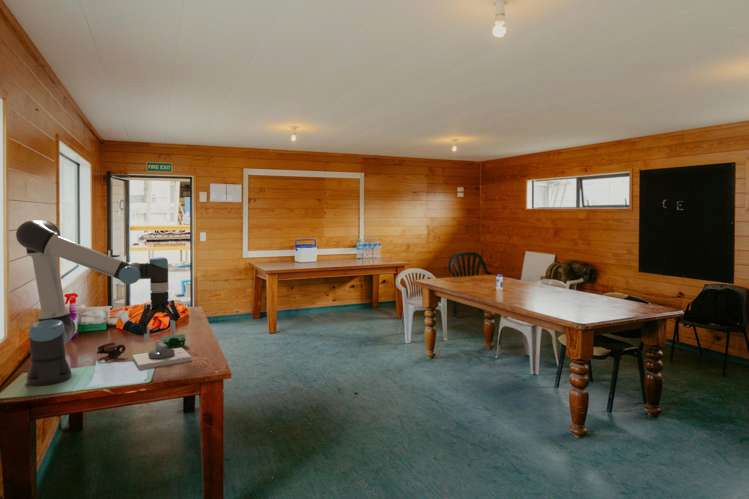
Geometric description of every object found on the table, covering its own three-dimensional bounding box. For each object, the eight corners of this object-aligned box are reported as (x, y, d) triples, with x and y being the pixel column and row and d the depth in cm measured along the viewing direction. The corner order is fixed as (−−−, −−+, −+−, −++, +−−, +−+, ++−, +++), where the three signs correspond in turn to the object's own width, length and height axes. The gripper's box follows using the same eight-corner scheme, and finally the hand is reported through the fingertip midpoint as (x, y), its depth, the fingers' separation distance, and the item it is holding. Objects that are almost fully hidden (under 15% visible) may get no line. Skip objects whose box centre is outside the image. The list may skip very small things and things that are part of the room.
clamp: (166, 357, 240) (158, 343, 236) (164, 352, 245) (157, 338, 241) (189, 346, 244) (182, 332, 240) (188, 341, 249) (180, 327, 245)
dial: (177, 355, 221) (177, 343, 220) (151, 360, 214) (151, 347, 214) (170, 350, 230) (170, 338, 229) (145, 354, 223) (145, 342, 222)
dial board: (138, 369, 208) (138, 364, 208) (132, 359, 223) (132, 354, 223) (191, 360, 221) (191, 356, 221) (182, 351, 236) (181, 347, 235)
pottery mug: (97, 364, 218) (93, 347, 220) (102, 367, 226) (98, 350, 228) (126, 354, 222) (121, 337, 225) (130, 357, 231) (125, 341, 233)
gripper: (177, 287, 232) (178, 330, 234) (128, 294, 211) (129, 341, 212) (187, 288, 228) (188, 332, 230) (139, 295, 207) (140, 344, 208)
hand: (160, 337), depth 221 cm, fingers open, 13 cm apart
